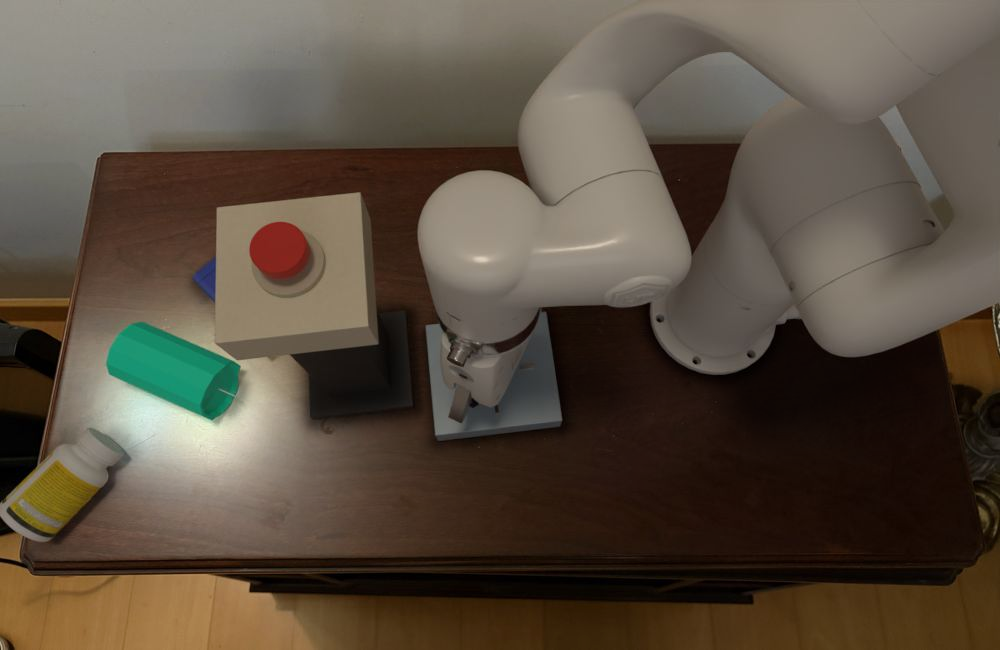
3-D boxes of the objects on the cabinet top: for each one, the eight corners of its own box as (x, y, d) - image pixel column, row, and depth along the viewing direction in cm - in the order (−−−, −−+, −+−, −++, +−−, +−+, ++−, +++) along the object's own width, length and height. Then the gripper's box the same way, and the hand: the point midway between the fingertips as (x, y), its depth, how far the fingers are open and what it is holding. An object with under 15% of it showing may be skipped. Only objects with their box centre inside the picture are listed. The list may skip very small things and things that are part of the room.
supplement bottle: (56, 551, 64) (138, 467, 66) (2, 530, 60) (91, 441, 62) (40, 519, 68) (118, 439, 70) (-11, 497, 64) (73, 413, 66)
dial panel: (544, 321, 73) (546, 310, 70) (560, 426, 69) (562, 420, 66) (428, 334, 72) (425, 324, 69) (437, 441, 69) (434, 435, 66)
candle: (136, 378, 72) (239, 424, 70) (96, 378, 66) (208, 428, 64) (159, 324, 72) (263, 368, 70) (122, 318, 66) (234, 366, 64)
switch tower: (407, 313, 73) (358, 187, 49) (414, 408, 70) (366, 323, 46) (310, 324, 73) (213, 202, 49) (313, 420, 69) (210, 340, 45)
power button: (309, 226, 47) (304, 218, 46) (311, 276, 46) (306, 269, 44) (254, 232, 47) (248, 224, 45) (255, 282, 45) (248, 275, 44)
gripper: (485, 429, 47) (490, 467, 64) (582, 223, 52) (563, 310, 69) (385, 383, 48) (416, 432, 65) (490, 185, 53) (493, 280, 70)
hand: (492, 369), depth 67 cm, fingers closed on dial, 4 cm apart
